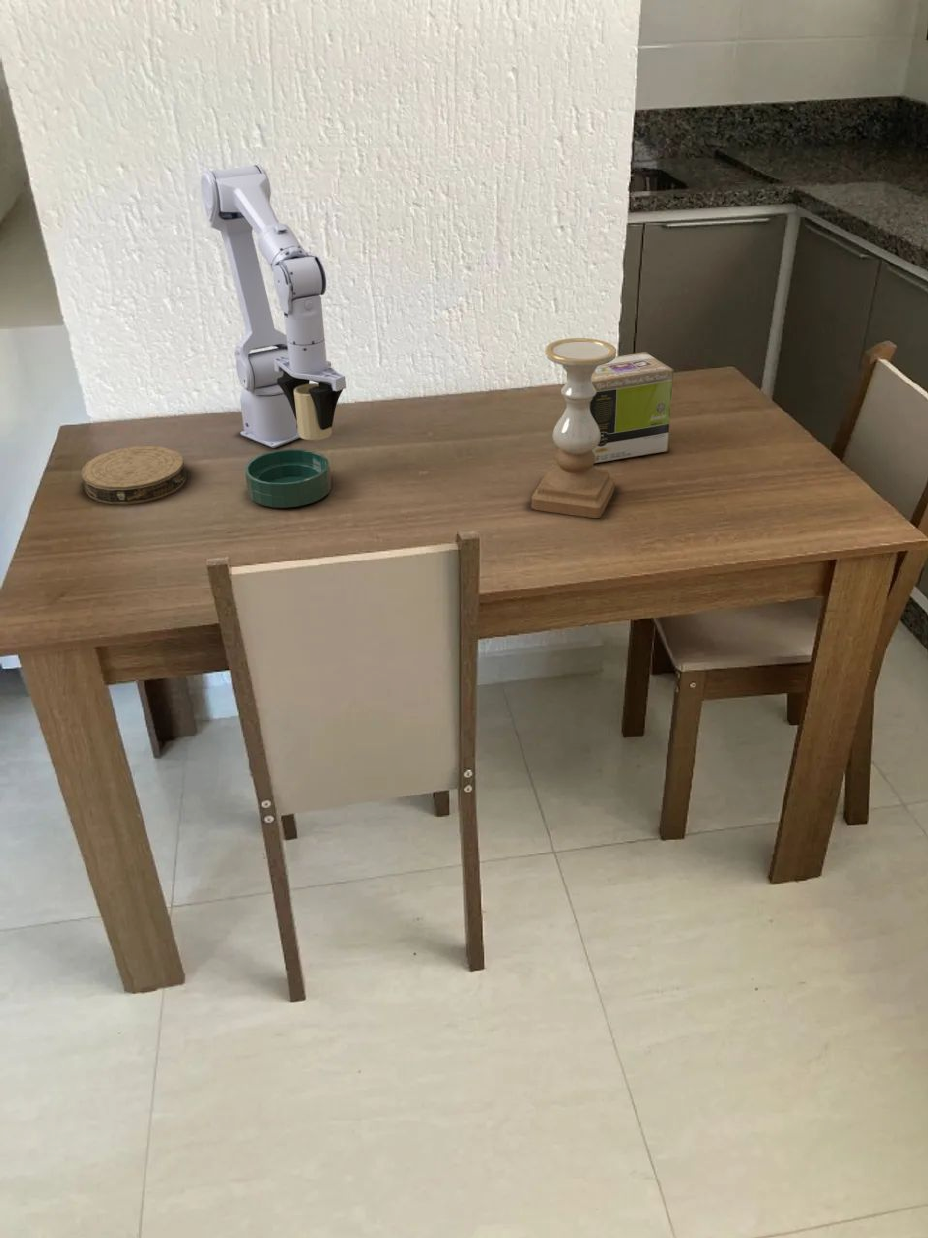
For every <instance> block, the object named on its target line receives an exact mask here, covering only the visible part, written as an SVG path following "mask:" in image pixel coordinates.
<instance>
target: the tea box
mask: <svg viewBox="0 0 928 1238" xmlns="http://www.w3.org/2000/svg"><path fill="white" fill-rule="evenodd" d="M591 381H592V384H593V386H594V388H595V389H596V395H595V396H594V397H593V399H592V401H591V402H590V405H589V409H590V412H591V414H592V416H593V418H594V419H595V421H596V423H597V424H598V427H599V429H600V432H601V439H600V442H599V444H598V445H597V446H596V447H595V448H594V449H593V450H592V451H593V453H594V454H595V463H594V464H598V463H604V462H609V461H610V462H611V461H615V460H621V459H628V458H633V457H639V456H645V455H646V456H647V455H651V454H652V455H653V454H657V453H665V452H668V447H669V437H670V432H669V431H670V423H671V410H672V409H671V407H672V398H673V397H672V394H673V383H674V382H673V381H674V368H672V367H670V366H668V365H667V364H665V363H663V362H662V361H660V360H659V359H657V358H656V357H654V356H653V355H651V354H649V353H648V352H647V351H644V352H636V353H629V354H624V355H616V356H615V358H614V359H613V360H612V361H611V362H609V363H606V364H603V365H599V366H598V367H597V368H596V370H595V371H594V372H593V374H592V377H591ZM566 407H567V403H566V402H565V408H566Z"/></svg>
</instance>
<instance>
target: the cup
mask: <svg viewBox="0 0 928 1238" xmlns="http://www.w3.org/2000/svg"><path fill="white" fill-rule="evenodd" d="M316 386H319V385H318V383H316V382H312V383H311V382H309V384H303V385H300V386H297V387H296V388H294V399H295V408H296V417H297V420H296V427H297V428H298V433H299V436H300V437H301V438H300V439H302V440H306V441H320V440H325V439H327V438H329V437H331V436H332V434H333V432H332V431H333V430H332V429H333V428H332V427H333V426H332V427H330V428H328V429H325V430H322V429H320V427H319V423H318V418H317V412H316V408H315V405H314V402H313V399H312V397H311V395H310V394H309V392H308V389H311V388H313V387H316Z"/></svg>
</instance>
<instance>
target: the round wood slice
mask: <svg viewBox="0 0 928 1238" xmlns="http://www.w3.org/2000/svg"><path fill="white" fill-rule="evenodd" d="M81 477H82V482H83V486H84V489H85V492H86V494H87V495H88V497H89V498H91V499H92V500H94V501H97V502H98V503H104V504H109V505H135V504H143V503H147V502H151V501H155V500H159V499H162V498H165V497H166V496H168V495H171V494H173V493H175V492H177V490H179V489H181V488H182V487H183V485H184V483H185V482H186V480H187V476H186V469H185V464H184V457H183V456H182V455H181V454H180V452H178V451H177V450H174V449H171V448H169V447H164V446H158V445H136V446H127V447H121V448H118V449H113V450H110V451H107V452H105V453H102V454H99V455H97V456H96V457H93V458H92V459H90V460H88V461H87V462H86V464H85V465H84V466H83V467H82V471H81Z"/></svg>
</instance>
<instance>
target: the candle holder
mask: <svg viewBox="0 0 928 1238" xmlns="http://www.w3.org/2000/svg"><path fill="white" fill-rule="evenodd" d="M544 351H545V355H546V358H547V359H548V360H549V361H551V362H553V363H555V364H558V365H561V366H562V368H563V370H565V372H566V382H565V384H564V386H562V387H561V390H560V394H561V395H562V396H563V399H564V401H565V404H566V403H567V407H566V406H565V410H564V412H563V414H562V415H561V416H560V418H559V419H558V420H557V422H556V423H555V425H554V427H553V430H552V434H551V437H552V442H553V444H554V445H555V447H556V448H558V450H557V452H556V454H555V459H554V460H555V463H554V464H552V465H551V466H550V467H549V469H547V471H546V473H545V474H544V476H543V478H542V480H541V481H540V483H539V485H538V486H537V488H536V489H535V490H534V492H533V494H532V496H531V503H530V504H531V507H530V508H531V509H532V510H536V511H542V512H549V513H556V514H562V515H569V516H575V517H576V516H577V517H583V518H592V519H600V518H601V517H602V516H603V514H604V512H605V510H606V509H607V506H608V504H609V502H610V500H611V498H612V496H613V494H614V492H615V482H616V481H615V478H614V477H611V476H610V475H611V474H610V471H608V470H605V469H601V468H600V469H599V468H596V467H594V464H596V463H595V454H594V453H593V451H592V450H593V449H594V448H595V447H596V446H597V445H598V444H599V442H600V439H601V432H600V429H599V427H598V424H597V423H596V421H595V419H594V418H593V416H592V414H591V412H590V409H589V405H590V402H591V401H592V399H593V397H594V396H595V395H596V389H595V388H594V386H593V384H592V381H591V377H592V374H593V372H594V371H595V370H596V368H597V367H598V366H599V365H603V364H606V363H609V362H611V361H612V360H613V359H614V358H615V357H616V356H617V349H616V347H615V346H614V345H613V344H611V343H609V342H607V341H604V340H601V339H595V338H587V337H571V338H563V339H558V340H554V341H553V342H551V343H549V344H548V345H547V346H546V347H545V350H544Z"/></svg>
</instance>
